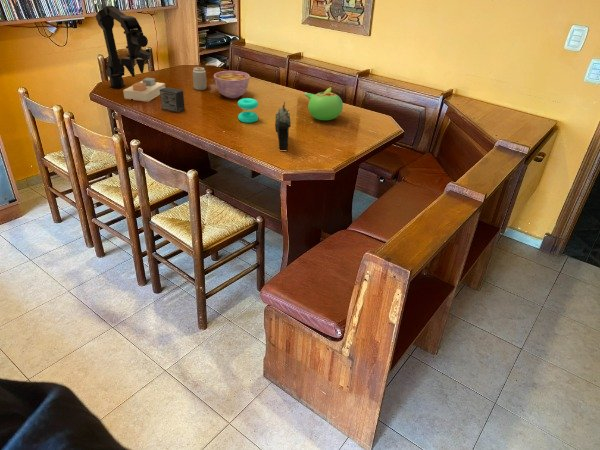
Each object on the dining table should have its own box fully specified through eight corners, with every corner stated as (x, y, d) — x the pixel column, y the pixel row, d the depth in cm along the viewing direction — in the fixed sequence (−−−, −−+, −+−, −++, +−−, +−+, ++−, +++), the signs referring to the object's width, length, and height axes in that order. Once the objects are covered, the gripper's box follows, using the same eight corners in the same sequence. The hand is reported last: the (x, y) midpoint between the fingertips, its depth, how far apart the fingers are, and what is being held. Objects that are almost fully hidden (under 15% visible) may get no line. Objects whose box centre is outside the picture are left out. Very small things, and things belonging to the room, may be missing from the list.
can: (208, 87, 267) (207, 66, 260) (204, 91, 261) (203, 70, 254) (196, 86, 267) (194, 65, 261) (192, 90, 261) (190, 69, 254)
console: (124, 98, 243) (123, 90, 240) (143, 88, 259) (142, 80, 257) (148, 101, 241) (146, 93, 238) (165, 91, 257) (164, 83, 254)
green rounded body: (316, 126, 223) (318, 97, 215) (301, 115, 235) (302, 87, 227) (347, 122, 230) (350, 94, 222) (330, 111, 242) (332, 84, 234)
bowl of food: (208, 97, 251) (206, 76, 245) (226, 88, 267) (225, 68, 260) (239, 103, 245) (238, 82, 239) (255, 94, 261) (255, 74, 255)
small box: (185, 109, 233) (183, 89, 228) (177, 113, 228) (175, 93, 223) (169, 106, 237) (167, 86, 231) (161, 109, 232) (158, 89, 226)
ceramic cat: (290, 153, 195) (291, 108, 184) (275, 153, 194) (276, 108, 183) (287, 135, 211) (289, 93, 200) (273, 135, 211) (274, 93, 200)
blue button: (143, 86, 250) (142, 79, 248) (147, 83, 254) (146, 77, 252) (151, 87, 249) (150, 81, 247) (155, 84, 253) (154, 78, 252)
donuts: (252, 96, 226) (261, 102, 219) (252, 115, 231) (261, 121, 225) (234, 98, 221) (243, 105, 214) (235, 118, 227) (243, 124, 220)
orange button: (133, 91, 242) (132, 84, 240) (138, 88, 246) (137, 82, 244) (141, 92, 241) (140, 85, 239) (146, 89, 245) (145, 83, 243)
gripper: (137, 48, 221) (142, 80, 230) (156, 42, 237) (160, 72, 245) (117, 46, 223) (122, 78, 232) (137, 40, 239) (141, 70, 247)
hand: (137, 74), depth 239 cm, fingers open, 8 cm apart
